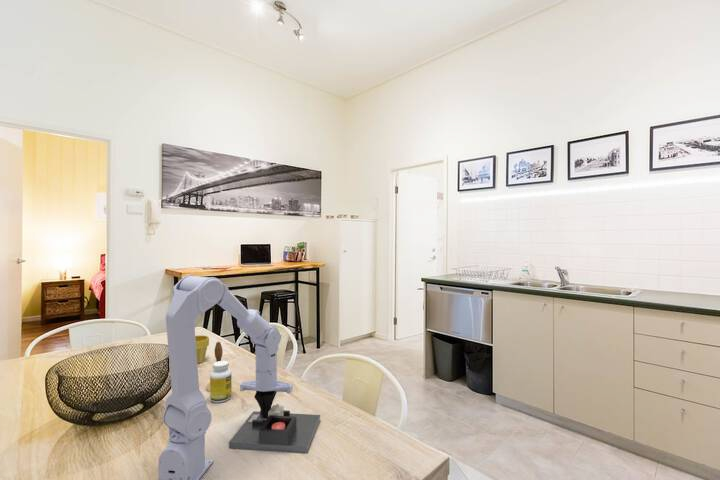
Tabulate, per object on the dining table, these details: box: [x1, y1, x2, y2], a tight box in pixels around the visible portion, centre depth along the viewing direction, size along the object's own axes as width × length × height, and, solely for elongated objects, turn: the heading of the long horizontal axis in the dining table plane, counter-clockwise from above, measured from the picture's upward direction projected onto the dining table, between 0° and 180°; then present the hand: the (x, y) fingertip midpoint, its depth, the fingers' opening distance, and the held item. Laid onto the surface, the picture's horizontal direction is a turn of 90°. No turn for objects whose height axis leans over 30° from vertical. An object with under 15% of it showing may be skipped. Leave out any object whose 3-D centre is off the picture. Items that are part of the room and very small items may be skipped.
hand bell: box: [205, 341, 223, 393], centre depth 120 cm, size 8×8×16 cm
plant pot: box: [195, 334, 210, 365], centre depth 144 cm, size 10×10×10 cm
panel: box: [228, 409, 321, 454], centre depth 92 cm, size 15×20×5 cm
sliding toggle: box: [268, 403, 284, 417], centre depth 96 cm, size 4×3×4 cm
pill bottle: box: [209, 360, 233, 403], centre depth 112 cm, size 6×6×12 cm
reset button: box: [272, 422, 285, 430], centre depth 89 cm, size 3×3×3 cm
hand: (266, 416), depth 96 cm, fingers closed
